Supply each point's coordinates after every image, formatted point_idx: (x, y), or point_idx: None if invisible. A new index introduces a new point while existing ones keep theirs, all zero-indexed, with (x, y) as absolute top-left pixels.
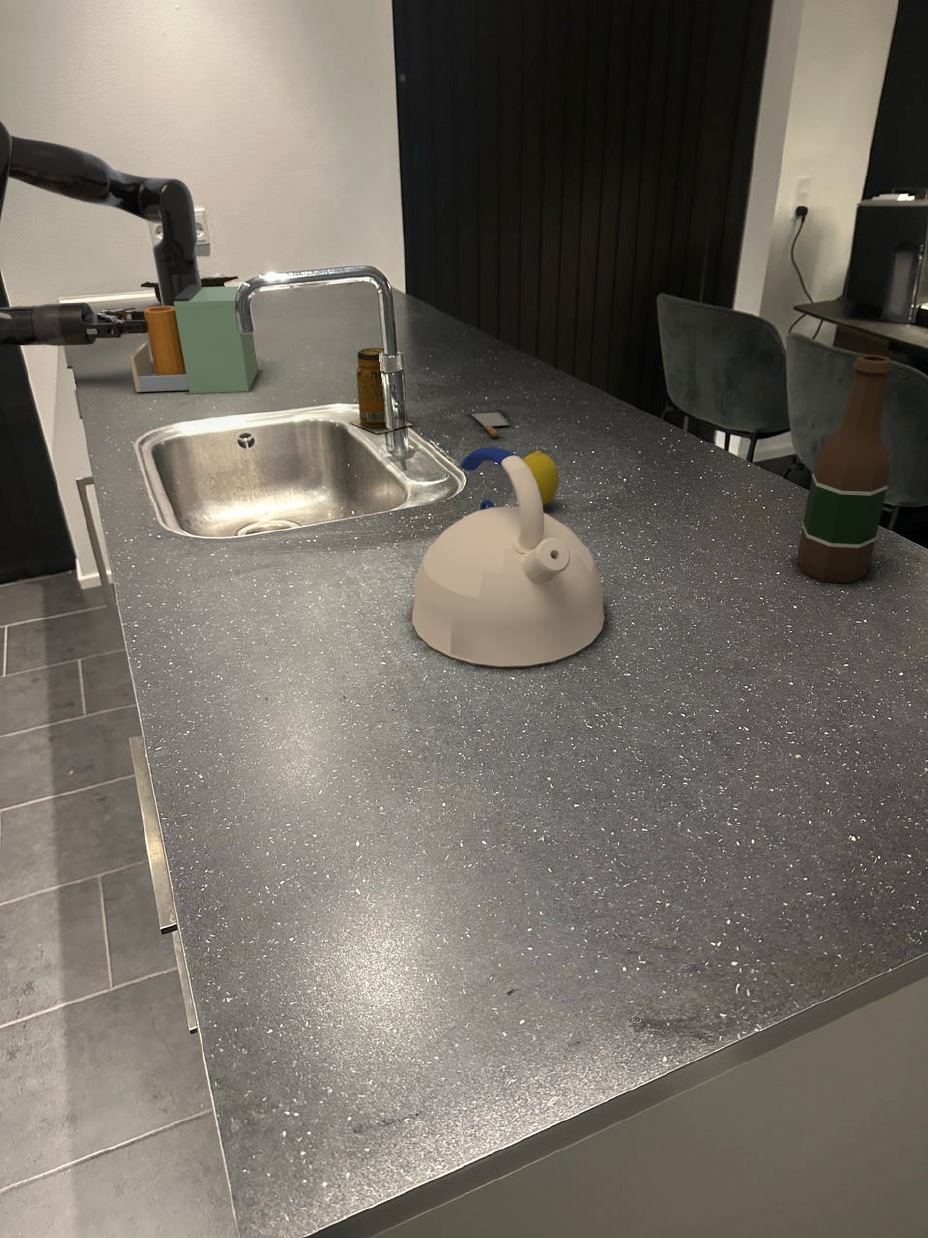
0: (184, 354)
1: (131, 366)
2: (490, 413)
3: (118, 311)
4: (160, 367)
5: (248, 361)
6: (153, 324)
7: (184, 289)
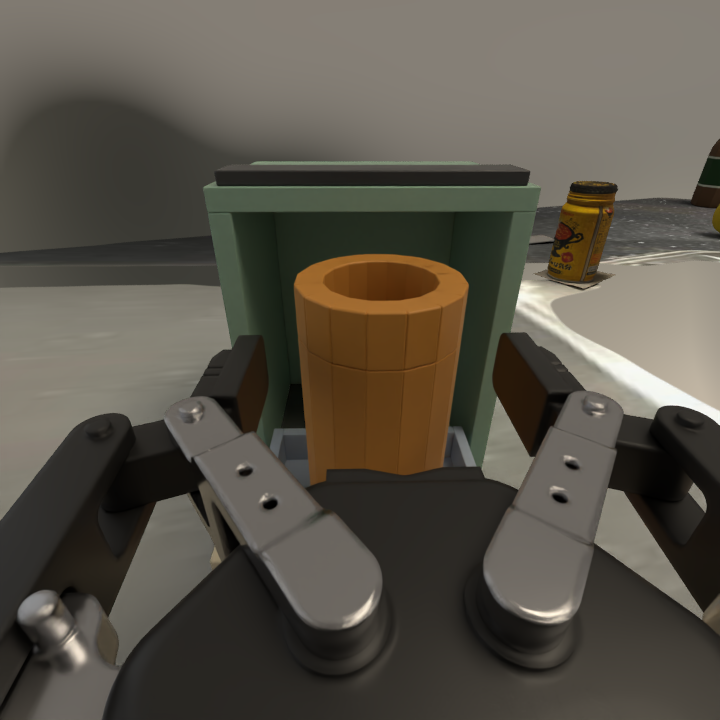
0: None
1: None
2: None
3: (280, 469)
4: None
5: None
6: (458, 346)
7: (329, 170)
